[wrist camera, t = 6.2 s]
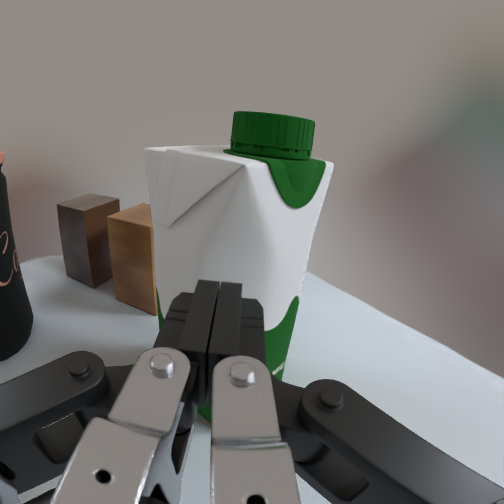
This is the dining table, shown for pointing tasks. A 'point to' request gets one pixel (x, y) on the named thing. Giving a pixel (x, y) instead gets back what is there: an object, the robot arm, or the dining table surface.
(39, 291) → the dining table surface
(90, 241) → the walnut block
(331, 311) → the dining table surface
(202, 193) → the milk carton
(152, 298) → the oak block
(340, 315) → the dining table surface
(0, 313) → the coffee jar
